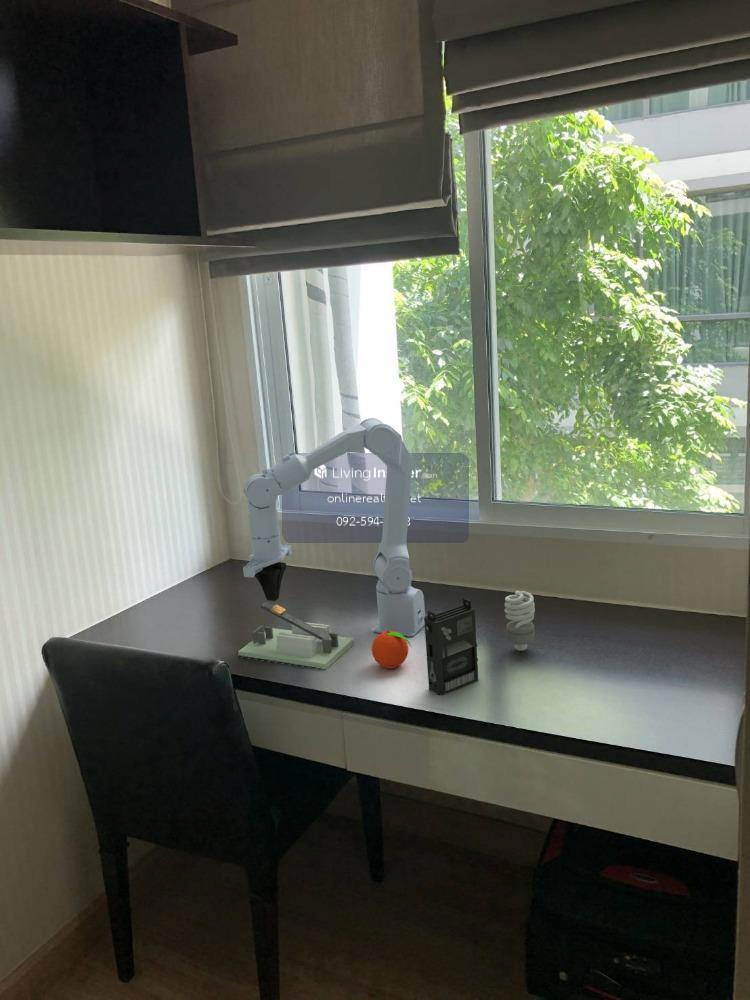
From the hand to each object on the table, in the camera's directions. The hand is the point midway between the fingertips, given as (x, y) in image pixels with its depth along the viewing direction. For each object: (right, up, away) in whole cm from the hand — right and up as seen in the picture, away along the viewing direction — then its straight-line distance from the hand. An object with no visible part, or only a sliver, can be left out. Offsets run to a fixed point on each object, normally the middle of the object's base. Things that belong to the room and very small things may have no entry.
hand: (272, 599), depth 162 cm
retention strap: (+5, -5, -1) cm, 7 cm away
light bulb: (+49, -9, -8) cm, 50 cm away
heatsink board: (+5, -10, +1) cm, 11 cm away
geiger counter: (+35, -13, -18) cm, 41 cm away
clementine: (+24, -12, -10) cm, 29 cm away
